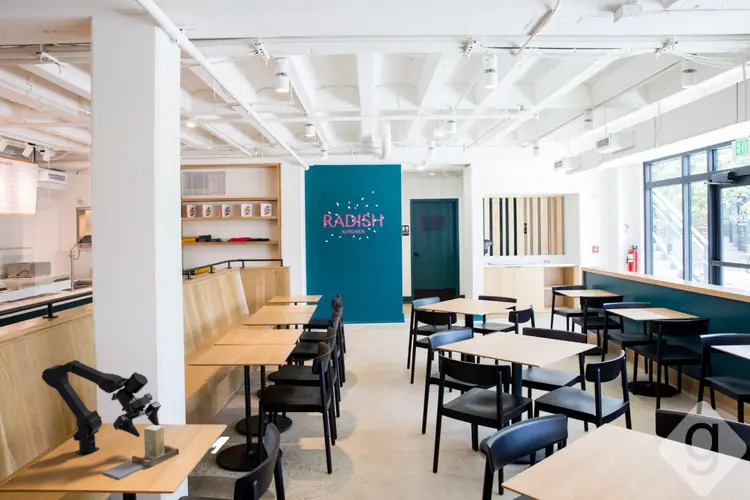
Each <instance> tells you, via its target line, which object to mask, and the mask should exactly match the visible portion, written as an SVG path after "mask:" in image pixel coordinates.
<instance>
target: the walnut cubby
mask: <svg viewBox="0 0 750 500" xmlns="http://www.w3.org/2000/svg"><path fill="white" fill-rule="evenodd" d="M164 452H166V453H164V455H162V456H160V457H158V458H156V459H153V460H151V459H146V458H143V457H139V456H137V455H132V456H131V462H133V463H136V464H139V465H142V466H144V467H147V468H153V467H154V466H156V465H159V464H161V463H162V462H166V461H167V460H169V459H171V458H174V457H175V456H177V455H179V454H180V452H179V448H177V447H174V446H170V445H166V444H164Z"/></svg>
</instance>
